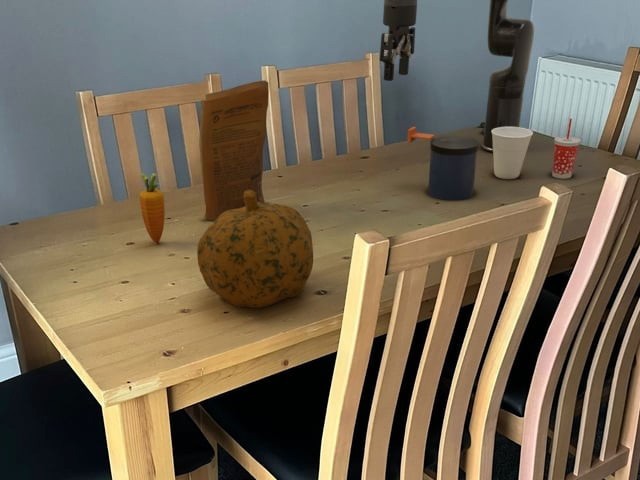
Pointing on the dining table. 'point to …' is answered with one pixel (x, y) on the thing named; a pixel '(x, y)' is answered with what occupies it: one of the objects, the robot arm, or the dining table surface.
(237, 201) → the pancake mix bag
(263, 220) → the decorative pumpkin
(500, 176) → the cup
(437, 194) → the blue lidded canister
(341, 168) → the dining table surface
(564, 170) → the beverage cup
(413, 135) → the slider
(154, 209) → the carrot
